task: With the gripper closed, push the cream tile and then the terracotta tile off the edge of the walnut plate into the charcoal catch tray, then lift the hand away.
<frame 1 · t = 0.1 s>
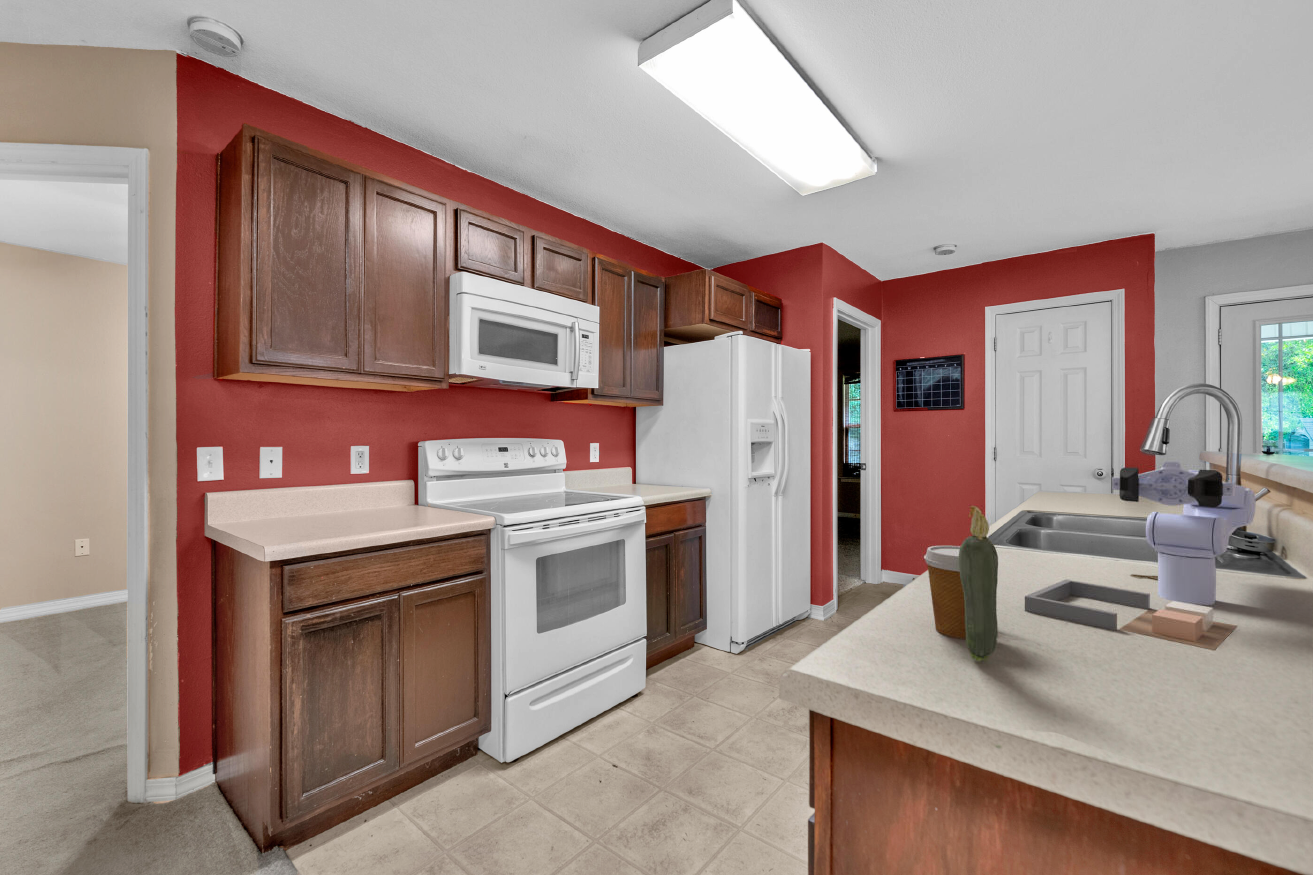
hand: (1156, 485, 87), 22 cm above the counter, tool horizontal, fingers open, 7 cm apart
terracotta tile: (1177, 633, 81), point 1 cm above the counter, touching walnut plate
disposable coffee cup: (959, 633, 85), on the counter
vegetable: (977, 664, 73), on the counter
walnut plate: (1178, 635, 84), on the counter
cream tile: (1188, 623, 85), point 1 cm above the counter, touching walnut plate
catch tray: (1091, 617, 92), on the counter
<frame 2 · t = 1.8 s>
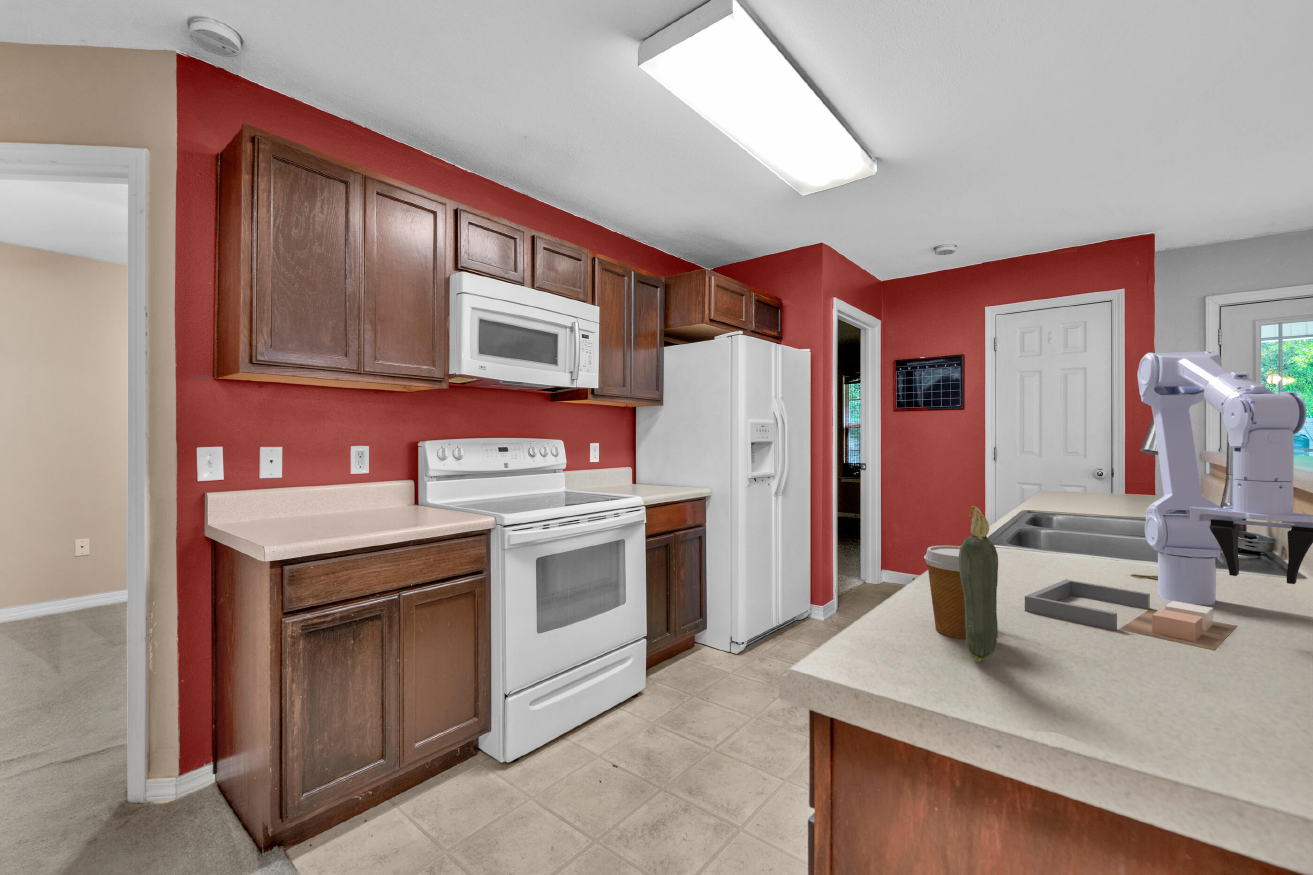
hand: (1262, 578, 79), 9 cm above the counter, tool pointing down, fingers open, 5 cm apart
nothing on the counter moved.
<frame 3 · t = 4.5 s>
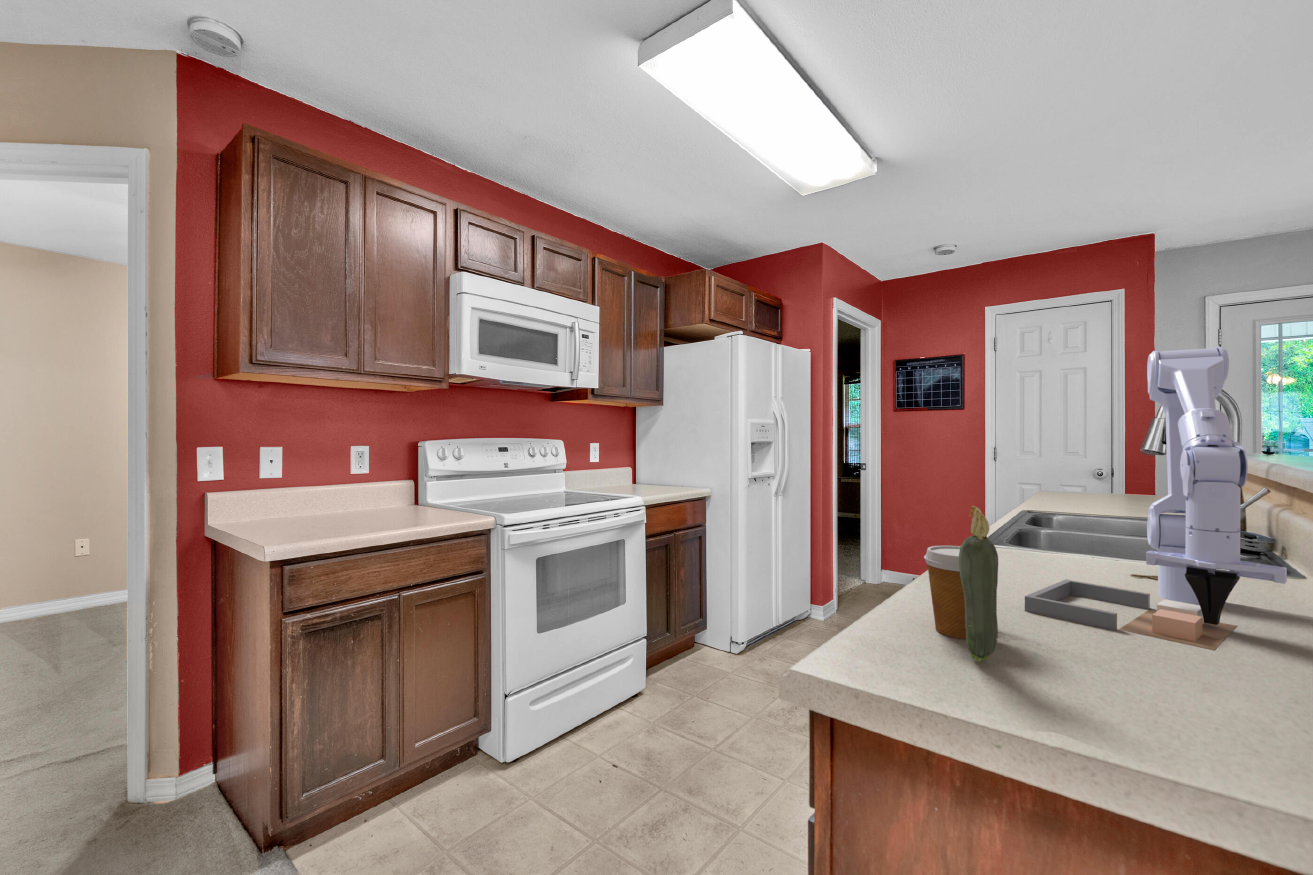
hand: (1211, 622, 83), 2 cm above the counter, tool pointing down, fingers closed
cream tile: (1180, 621, 86), point 1 cm above the counter, touching gripper
everything else where it was.
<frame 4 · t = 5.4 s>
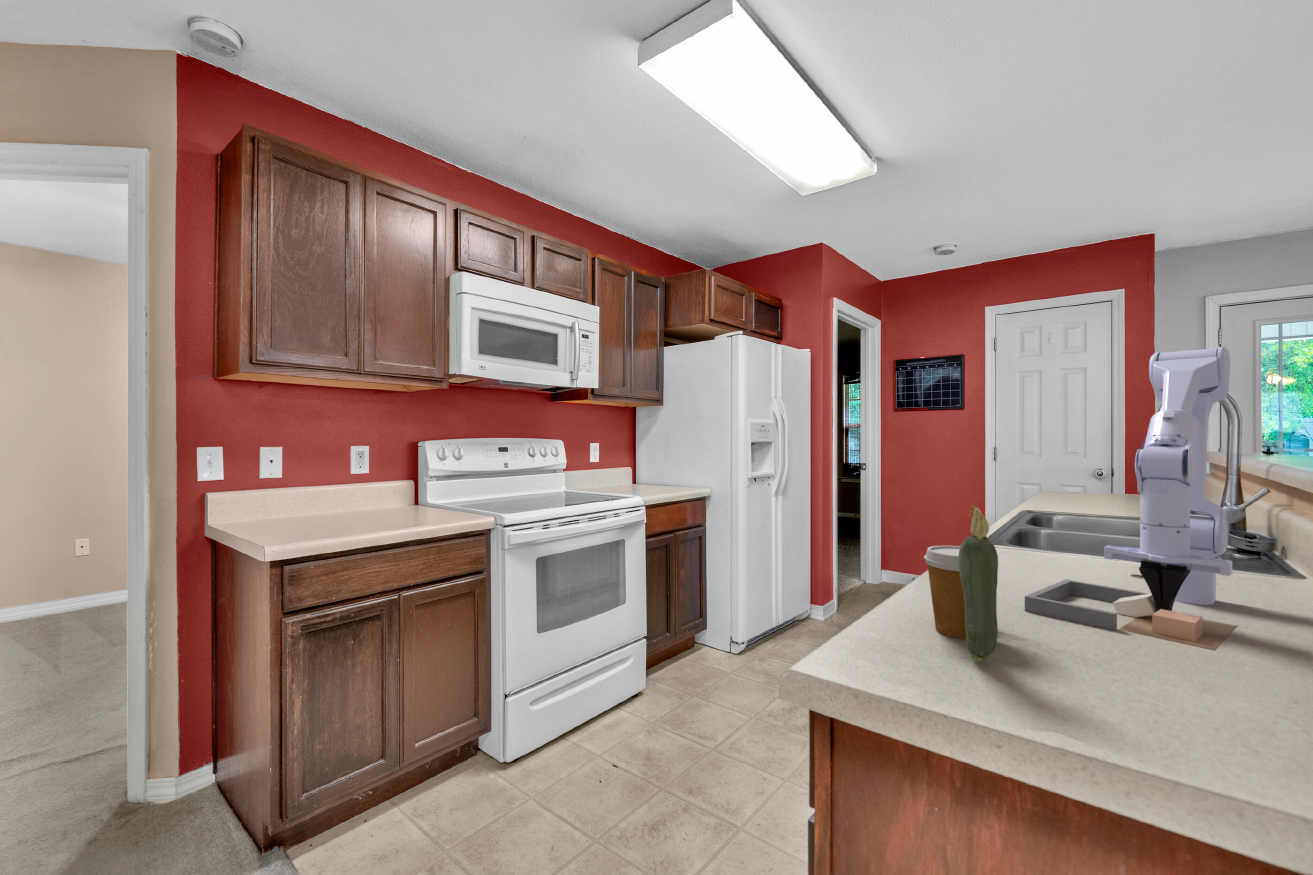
hand: (1164, 613, 88), 2 cm above the counter, tool pointing down, fingers closed
cream tile: (1140, 614, 90), point 1 cm above the counter, tilted 22°, touching catch tray, gripper
everything else where it was.
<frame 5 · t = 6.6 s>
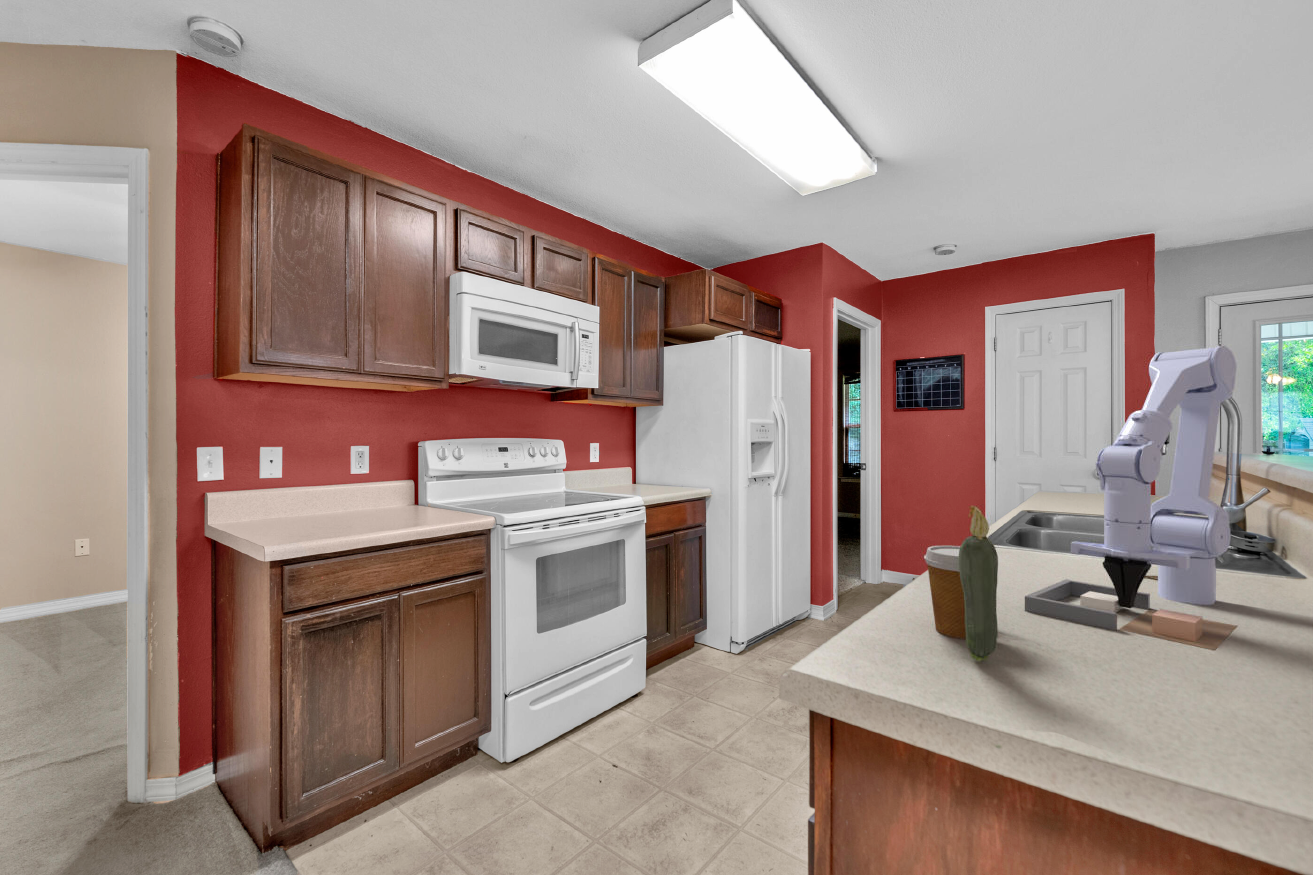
hand: (1126, 606, 91), 2 cm above the counter, tool pointing down, fingers closed
cream tile: (1101, 611, 94), resting on catch tray
everything else where it was.
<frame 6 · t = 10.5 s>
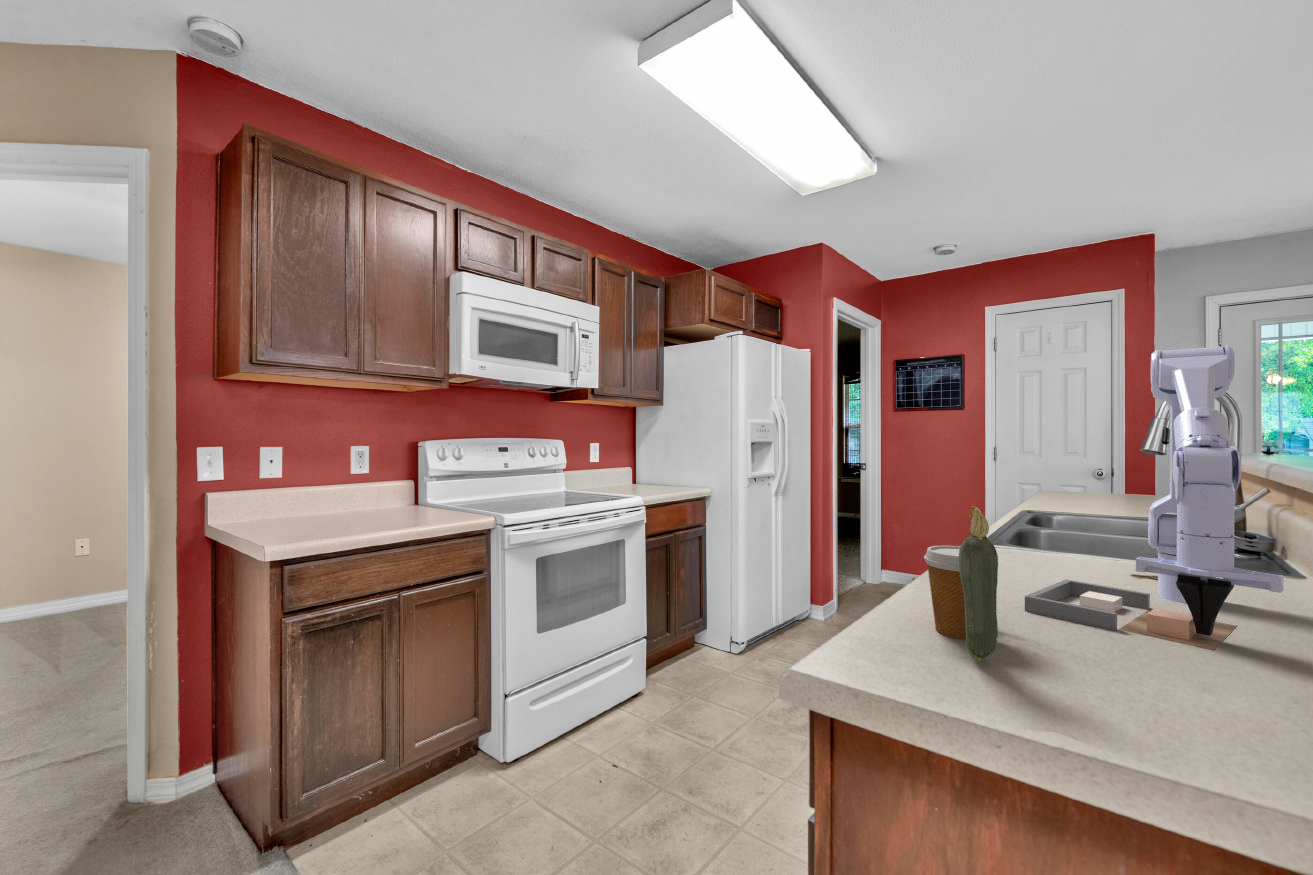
hand: (1204, 633, 79), 2 cm above the counter, tool pointing down, fingers closed
terracotta tile: (1171, 632, 82), point 1 cm above the counter, touching gripper, walnut plate
everything else where it was.
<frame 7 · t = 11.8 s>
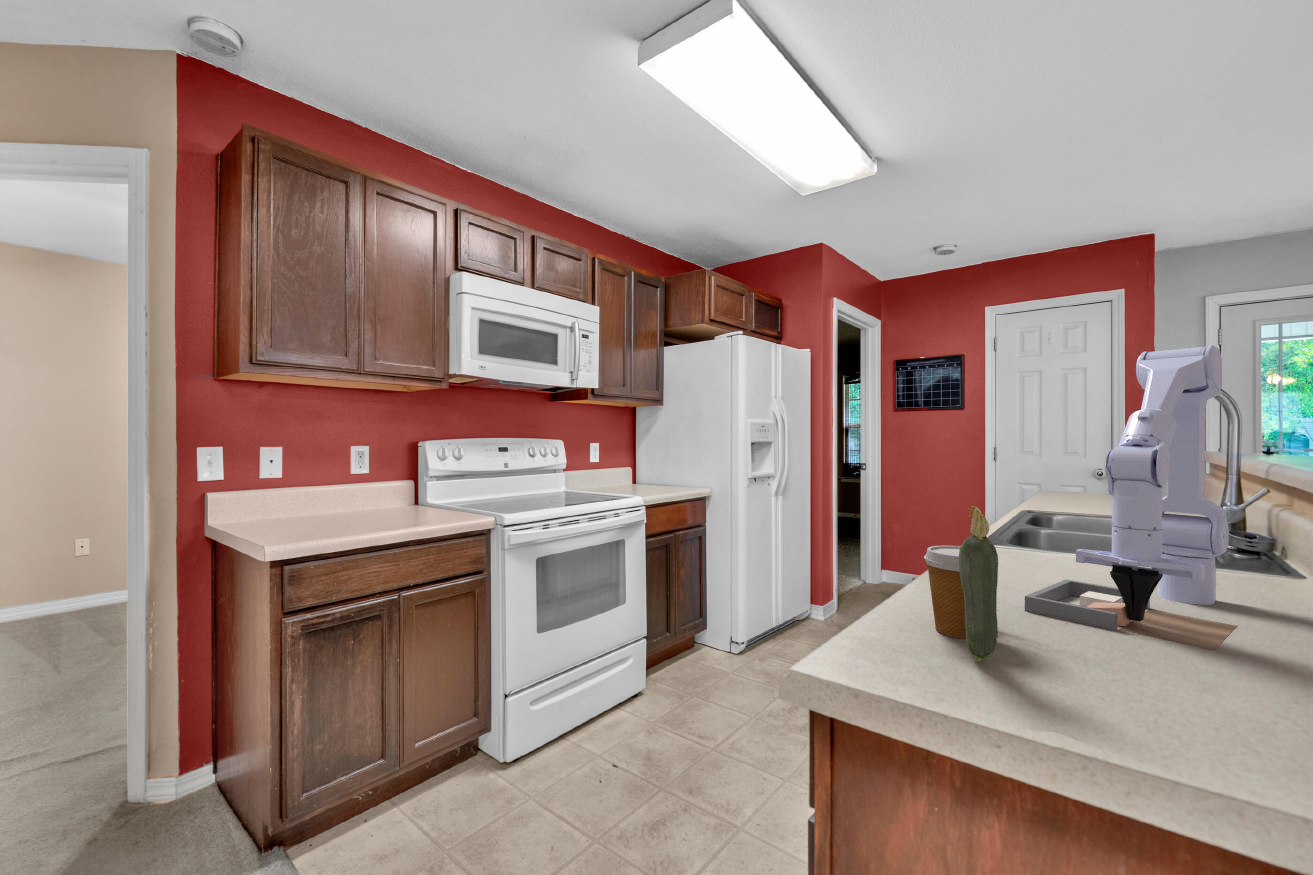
hand: (1135, 619, 85), 2 cm above the counter, tool pointing down, fingers closed
terracotta tile: (1111, 622, 87), point 1 cm above the counter, tilted 12°, touching gripper
everything else where it was.
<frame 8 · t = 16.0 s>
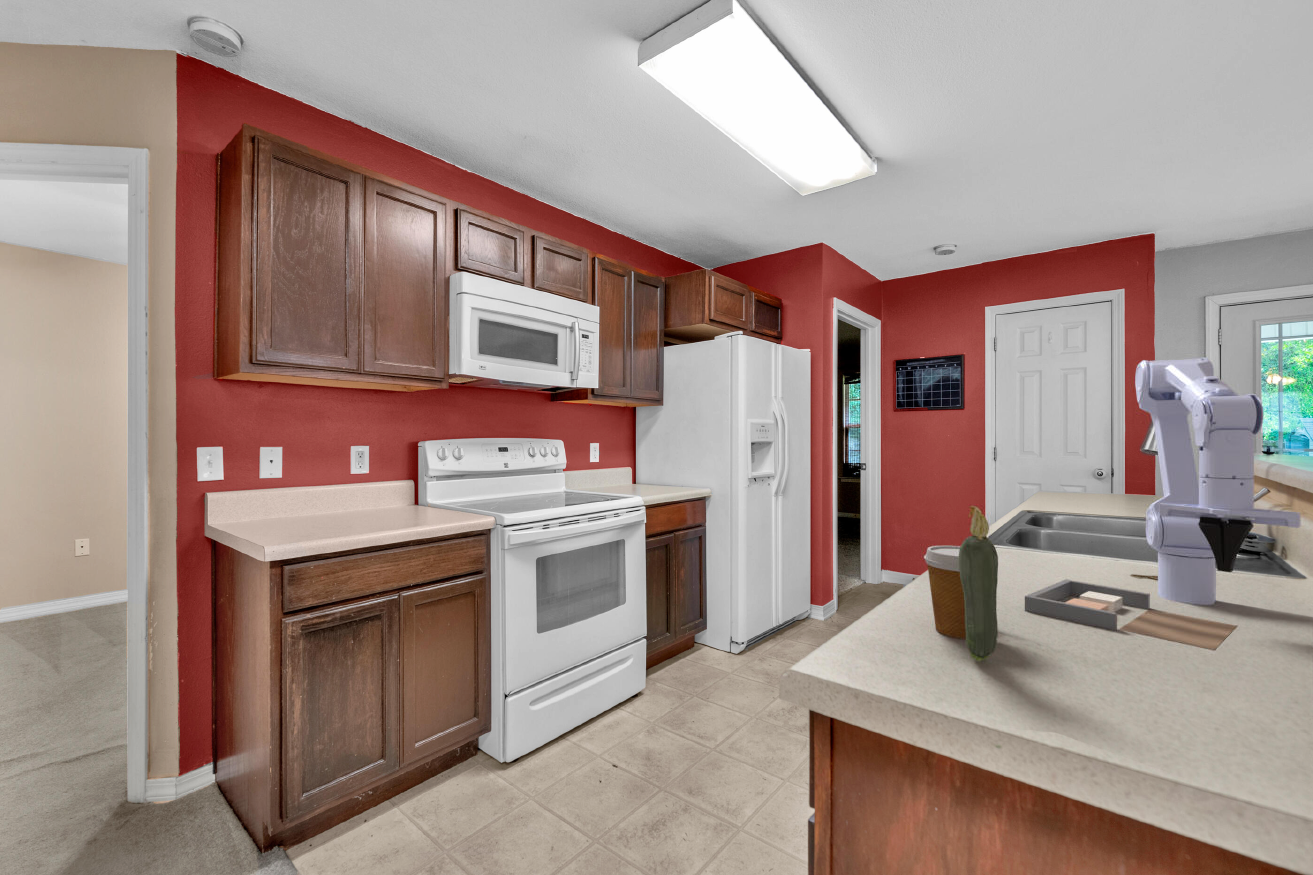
hand: (1225, 570, 84), 9 cm above the counter, tool pointing down, fingers closed
terracotta tile: (1086, 619, 89), resting on catch tray
everything else where it was.
at the end: cream tile inside the target area (3.5 cm from its centre), resting on catch tray; terracotta tile inside the target area (3.8 cm from its centre), resting on catch tray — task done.
